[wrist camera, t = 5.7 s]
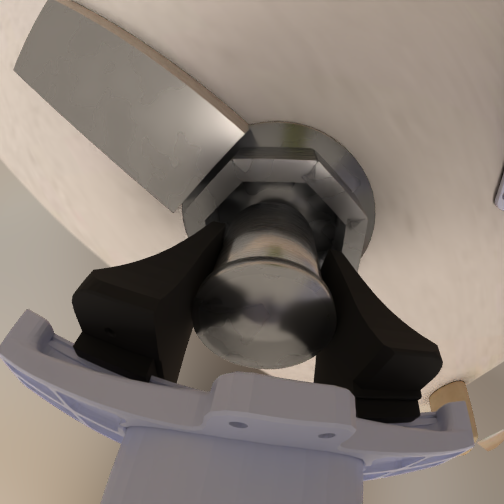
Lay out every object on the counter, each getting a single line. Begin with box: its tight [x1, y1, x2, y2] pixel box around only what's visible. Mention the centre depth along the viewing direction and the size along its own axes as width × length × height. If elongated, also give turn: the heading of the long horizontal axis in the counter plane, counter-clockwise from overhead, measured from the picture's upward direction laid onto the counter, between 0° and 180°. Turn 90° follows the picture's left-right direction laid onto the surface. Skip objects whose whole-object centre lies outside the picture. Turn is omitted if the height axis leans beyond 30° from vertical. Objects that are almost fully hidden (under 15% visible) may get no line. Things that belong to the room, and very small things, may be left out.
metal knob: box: [191, 202, 337, 369], centre depth 12 cm, size 5×5×6 cm
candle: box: [429, 381, 478, 457], centre depth 21 cm, size 6×6×10 cm
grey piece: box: [14, 0, 375, 272], centre depth 12 cm, size 26×11×3 cm, turn 47°
